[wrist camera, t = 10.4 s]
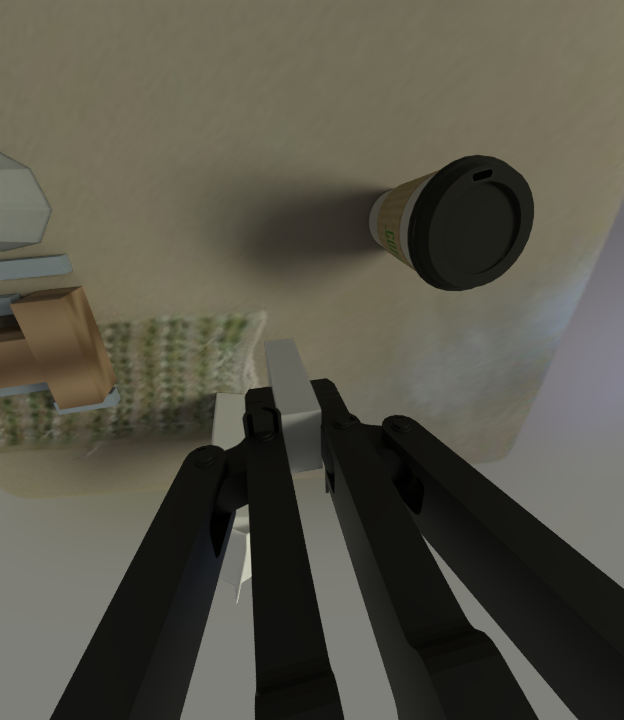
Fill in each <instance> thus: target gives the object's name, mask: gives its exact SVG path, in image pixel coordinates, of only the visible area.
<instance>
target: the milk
mask: <svg viewBox="0 0 624 720" xmlns="http://www.w3.org/2000/svg"><path fill="white" fill-rule="evenodd" d="M244 413H245V395H242V394H229V393H217V394H216V403H215V411H214V420H213V429H212V439H211V445H215V446H219V447H221V448H223V449H224V451H225V450H228V449H230V448H232V447H234V446H236V445H238V444H239V443H240V442H241V441H242V440H243V439H244V437H245V433H244V427H243V420H242V418H243V414H244ZM251 576H252V575H251V553H250V531H249V510H248V505H246V506H243V507H241V508H239V509H237V510H236V516H235V520H234V524H233V527H232V531H231V535H230V538H229V542H228V546H227V549H226V553H225V556H224V560H223V564H222V567H221V571H220V575H219V578H220V579H222V580H224V581H226V582H228V583H230V584H232V585H234V586H235V592H236V604H237V603H238V598H239V593H240V588H241V583H242V582H244V581H245V580H247V579H248V578H250V577H251Z"/></svg>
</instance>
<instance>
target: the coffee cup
mask: <svg viewBox="0 0 624 720" xmlns="http://www.w3.org/2000/svg"><path fill="white" fill-rule="evenodd" d="M533 218H534V202H533V197H532V192H531V190H530V188H529V185H528V183H527V182H526V180H525V179H524V178H523V176H522V175H521V174H520V173H519V172H517V171H516V170H515V169H513V168H512V167H511V166H509V165H508V164H507V163H506V162H504V161H502V160H499V159H497V158H495V157H490V156H482V155H474V156H466V157H463V158H461V159H458V160H455V161H453V162H451V163H450V164H448V165H447V166H445V167H443V168H442V169H441V170H438V171H436V172H433V173H431V174H428V175H425V176H423V177H420V178H418V179H415V180H412V181H410V182H407V183H404V184H402V185H400V186H398V187H397V188H395V189H392V190H390V191H387V192H385V193H384V194H382V195H381V196H380V197H379V198H378V199H377V200H376V202H375V203H374V205H373V207H372V209H371V212H370V216H369V228H370V232H371V235H372V237H373V238H374V240H375V241H376V242H377V243H378V244H379V245H381V246H382V247H384V248H385V249H386V250H387V251H388V252H389V253H390V254H392V255H393V256H395V257H396V258H397V259H399V260H400V261H402V262H403V263H405V264H406V265H407V266H409V267H410V268H412V269H413V270H415V271H416V272H417V273H418V274H419V276H420V277H421V278H422V279H423V280H424V281H425V282H426V283H428V284H430V285H431V286H433V287H435V288H438V289H442V290H446V291H463V290H468V289H472V288H475V287H478V286H482V285H485V284H487V283H490V282H492V281H493V280H495V279H497V278H498V277H500V276H501V275H502V274H504V273H505V272H506V271H507V270H508V269H509V268H510V267H511V266H512V265H513V264H514V263H515V261H516V260H517V259H518V257H519V256H520V254H521V253H522V251H523V249H524V247H525V245H526V243H527V241H528V239H529V236H530V232H531V229H532V225H533Z"/></svg>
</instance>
